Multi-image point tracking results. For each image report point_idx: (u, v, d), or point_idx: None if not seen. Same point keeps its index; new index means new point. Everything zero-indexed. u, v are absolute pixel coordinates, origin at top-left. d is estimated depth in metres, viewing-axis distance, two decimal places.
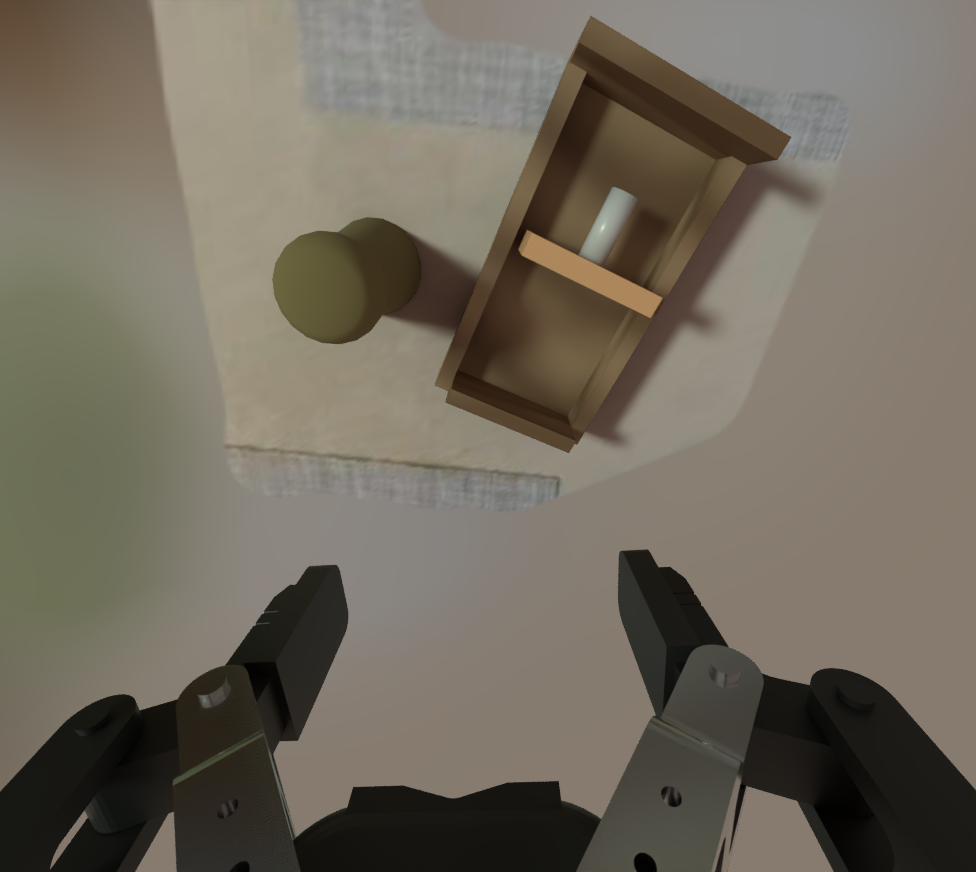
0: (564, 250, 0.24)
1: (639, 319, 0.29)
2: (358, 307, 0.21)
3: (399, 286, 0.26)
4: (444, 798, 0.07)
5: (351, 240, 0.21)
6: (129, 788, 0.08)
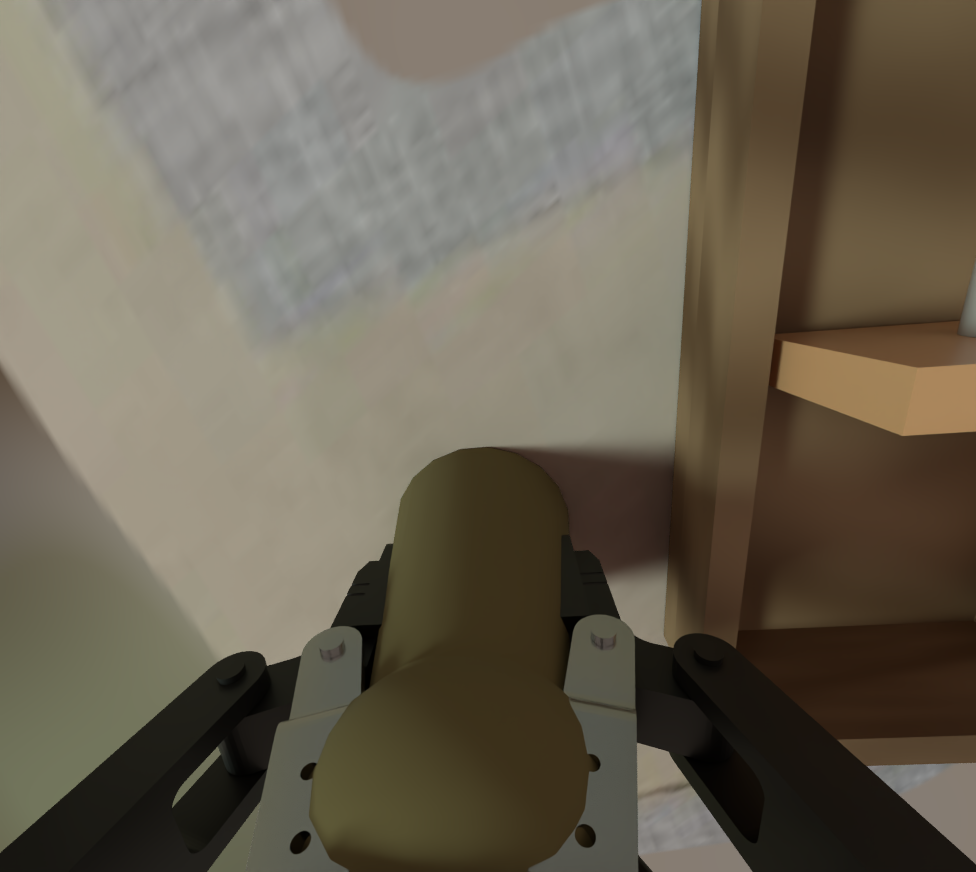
0: None
1: None
2: None
3: None
4: None
5: (468, 721, 0.06)
6: (249, 743, 0.09)
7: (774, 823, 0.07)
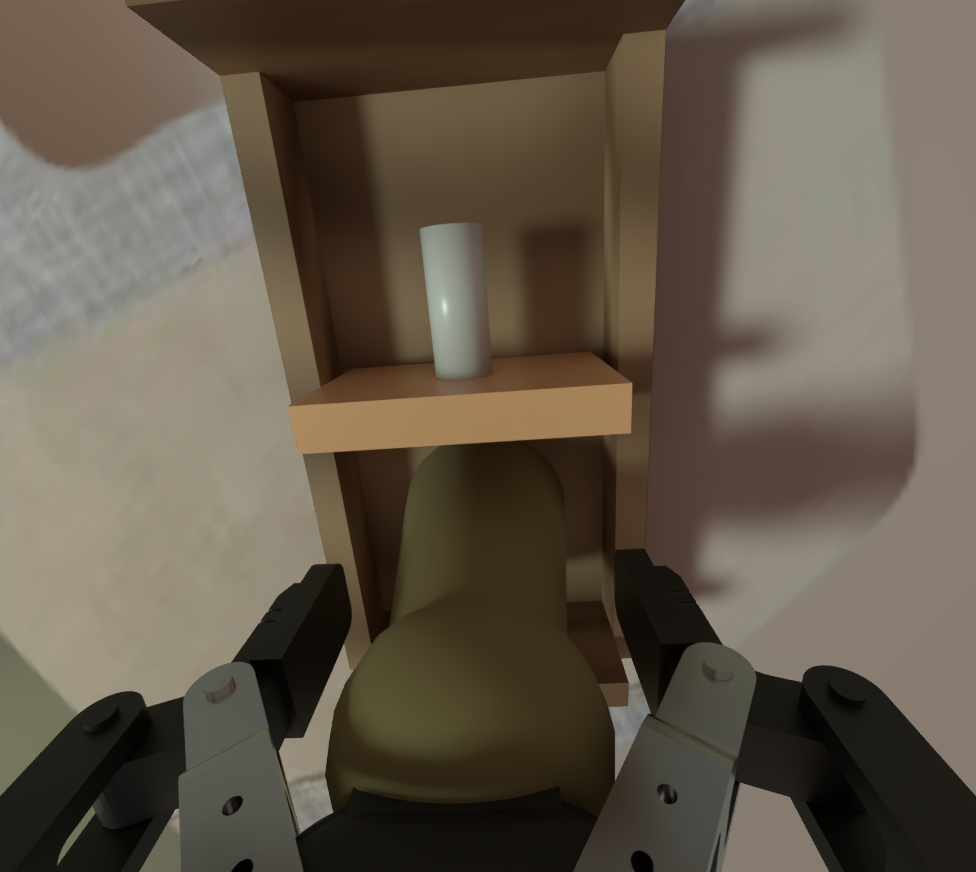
0: (369, 403, 0.11)
1: None
2: None
3: (565, 564, 0.13)
4: None
5: (480, 639, 0.07)
6: (136, 785, 0.08)
7: None
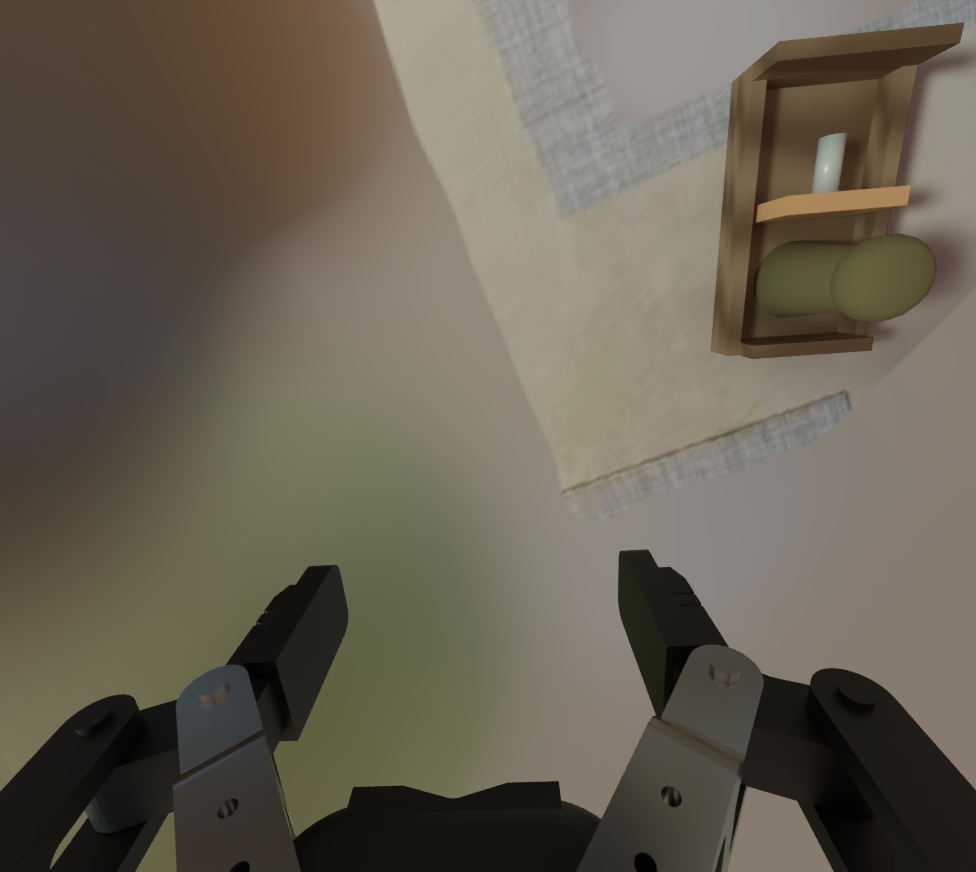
0: (817, 194, 0.31)
1: (877, 219, 0.34)
2: (931, 274, 0.27)
3: None
4: (444, 799, 0.07)
5: None
6: (129, 788, 0.08)
7: None
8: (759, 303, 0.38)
